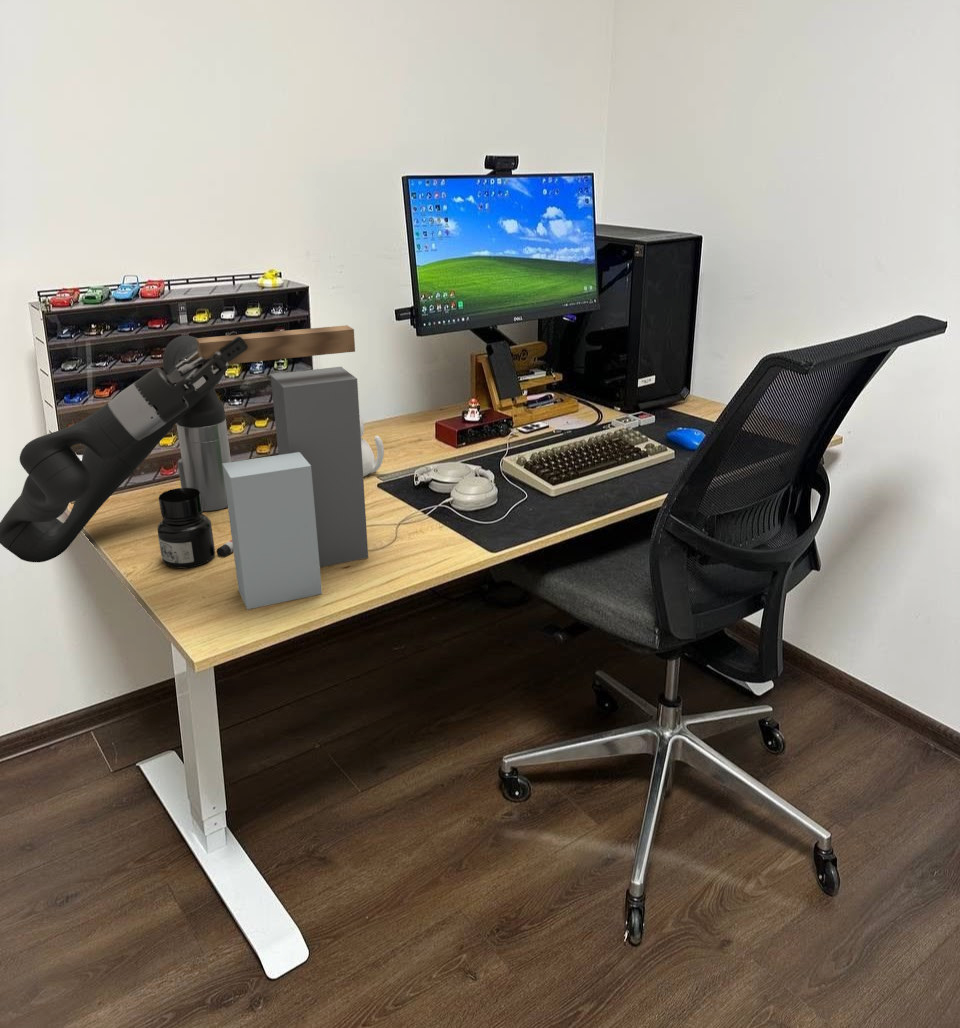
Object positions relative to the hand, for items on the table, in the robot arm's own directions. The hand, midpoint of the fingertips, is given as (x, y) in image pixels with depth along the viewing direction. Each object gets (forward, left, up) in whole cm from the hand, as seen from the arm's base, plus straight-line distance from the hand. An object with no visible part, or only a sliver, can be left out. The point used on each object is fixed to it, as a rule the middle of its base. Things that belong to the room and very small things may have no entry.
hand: (241, 339), depth 137 cm
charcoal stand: (+8, +7, -39) cm, 41 cm away
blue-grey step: (+7, -8, -39) cm, 41 cm away
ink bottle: (-15, 0, -39) cm, 42 cm away
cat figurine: (-2, +46, -39) cm, 61 cm away
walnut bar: (+4, +4, -3) cm, 6 cm away
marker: (-8, +9, -40) cm, 42 cm away
